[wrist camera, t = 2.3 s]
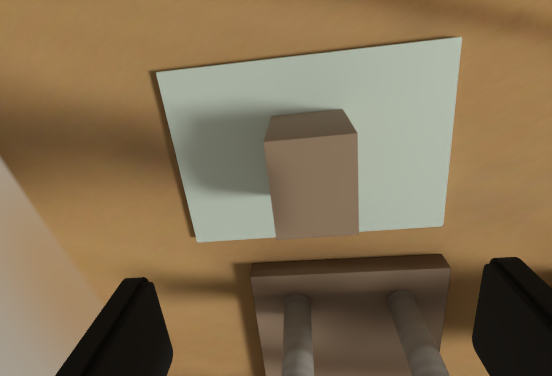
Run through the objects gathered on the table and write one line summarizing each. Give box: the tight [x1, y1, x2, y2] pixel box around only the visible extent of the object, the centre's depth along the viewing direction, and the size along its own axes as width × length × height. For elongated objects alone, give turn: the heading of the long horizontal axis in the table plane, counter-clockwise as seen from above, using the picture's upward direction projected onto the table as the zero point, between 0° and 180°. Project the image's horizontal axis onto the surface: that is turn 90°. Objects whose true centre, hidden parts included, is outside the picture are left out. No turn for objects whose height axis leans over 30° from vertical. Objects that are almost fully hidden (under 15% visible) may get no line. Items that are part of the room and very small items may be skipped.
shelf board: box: [156, 37, 462, 242], centre depth 18 cm, size 16×11×6 cm
